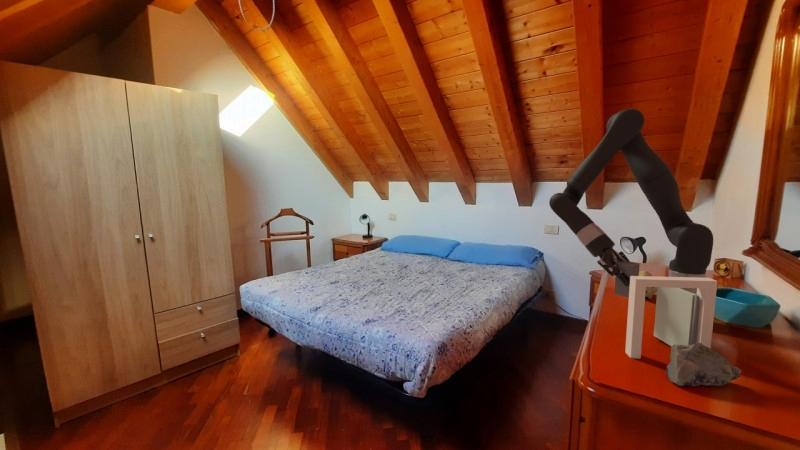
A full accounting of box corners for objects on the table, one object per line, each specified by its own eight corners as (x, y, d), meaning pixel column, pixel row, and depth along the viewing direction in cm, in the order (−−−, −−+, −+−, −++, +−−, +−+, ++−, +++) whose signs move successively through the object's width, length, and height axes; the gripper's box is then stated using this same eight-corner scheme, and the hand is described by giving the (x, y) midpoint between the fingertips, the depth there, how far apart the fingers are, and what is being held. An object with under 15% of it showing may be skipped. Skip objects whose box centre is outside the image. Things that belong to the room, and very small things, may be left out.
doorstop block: (614, 294, 104) (616, 263, 103) (621, 290, 107) (623, 260, 106) (630, 298, 101) (632, 266, 99) (637, 294, 103) (639, 263, 102)
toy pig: (626, 299, 131) (628, 273, 130) (628, 290, 141) (629, 266, 140) (657, 304, 126) (660, 277, 124) (657, 294, 135) (659, 269, 134)
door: (700, 357, 87) (706, 296, 85) (690, 358, 87) (696, 296, 85) (662, 335, 100) (666, 281, 98) (653, 335, 100) (657, 281, 98)
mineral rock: (738, 384, 77) (743, 343, 76) (742, 408, 69) (748, 363, 68) (667, 364, 86) (670, 328, 84) (664, 384, 78) (667, 343, 76)
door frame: (700, 356, 89) (708, 277, 86) (709, 362, 86) (717, 281, 83) (625, 352, 92) (630, 275, 89) (630, 357, 89) (636, 279, 86)
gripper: (592, 235, 103) (634, 281, 95) (613, 230, 111) (653, 272, 103) (575, 249, 109) (613, 294, 100) (596, 243, 117) (633, 284, 108)
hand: (633, 282), depth 102 cm, fingers closed on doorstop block, 5 cm apart
